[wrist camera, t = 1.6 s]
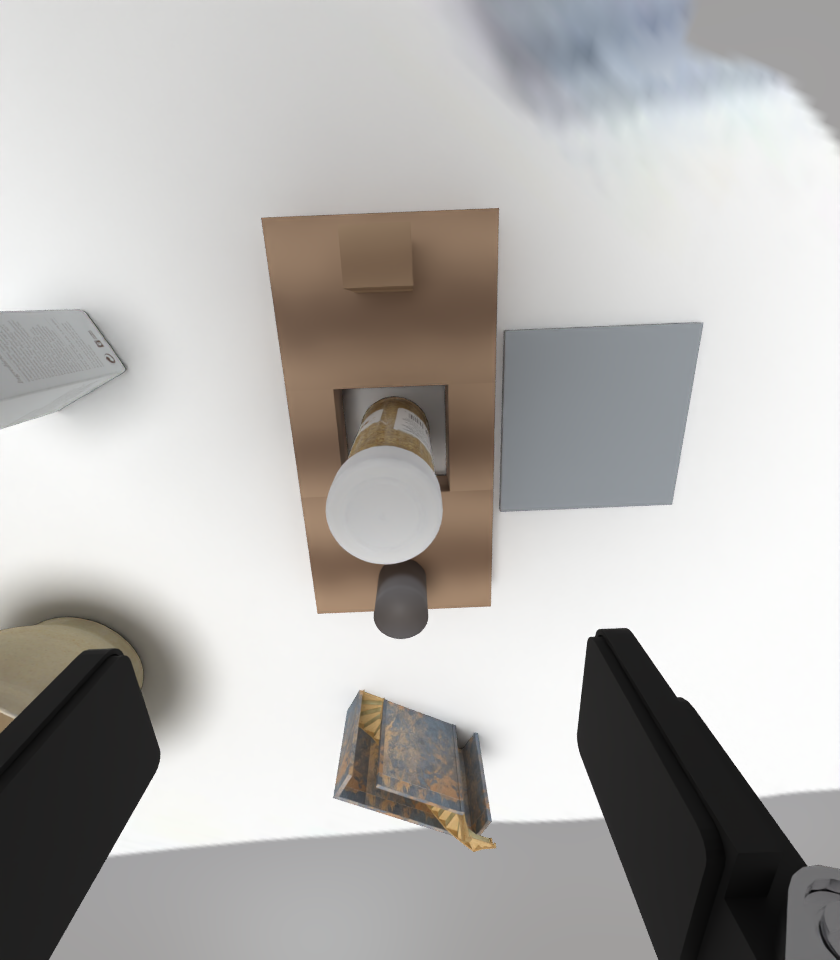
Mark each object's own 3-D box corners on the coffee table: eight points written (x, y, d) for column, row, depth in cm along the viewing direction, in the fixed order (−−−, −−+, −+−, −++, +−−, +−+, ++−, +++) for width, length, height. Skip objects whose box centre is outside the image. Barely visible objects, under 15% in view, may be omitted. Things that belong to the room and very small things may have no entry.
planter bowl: (226, 653, 36) (151, 789, 25) (125, 763, 40) (26, 919, 29) (33, 535, 32) (-146, 640, 22) (-57, 671, 36) (-243, 813, 26)
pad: (503, 330, 27) (505, 330, 27) (698, 322, 27) (703, 322, 27) (499, 508, 32) (500, 511, 31) (668, 501, 32) (671, 504, 31)
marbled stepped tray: (479, 725, 39) (500, 849, 30) (463, 748, 40) (478, 875, 31) (362, 682, 37) (346, 801, 28) (347, 707, 38) (328, 829, 29)
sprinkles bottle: (352, 405, 29) (306, 475, 16) (420, 388, 29) (427, 445, 16) (372, 470, 30) (344, 580, 18) (437, 454, 30) (455, 554, 17)
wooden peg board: (277, 228, 25) (221, 192, 18) (489, 220, 25) (521, 179, 18) (325, 588, 34) (300, 667, 26) (484, 581, 34) (504, 658, 26)
